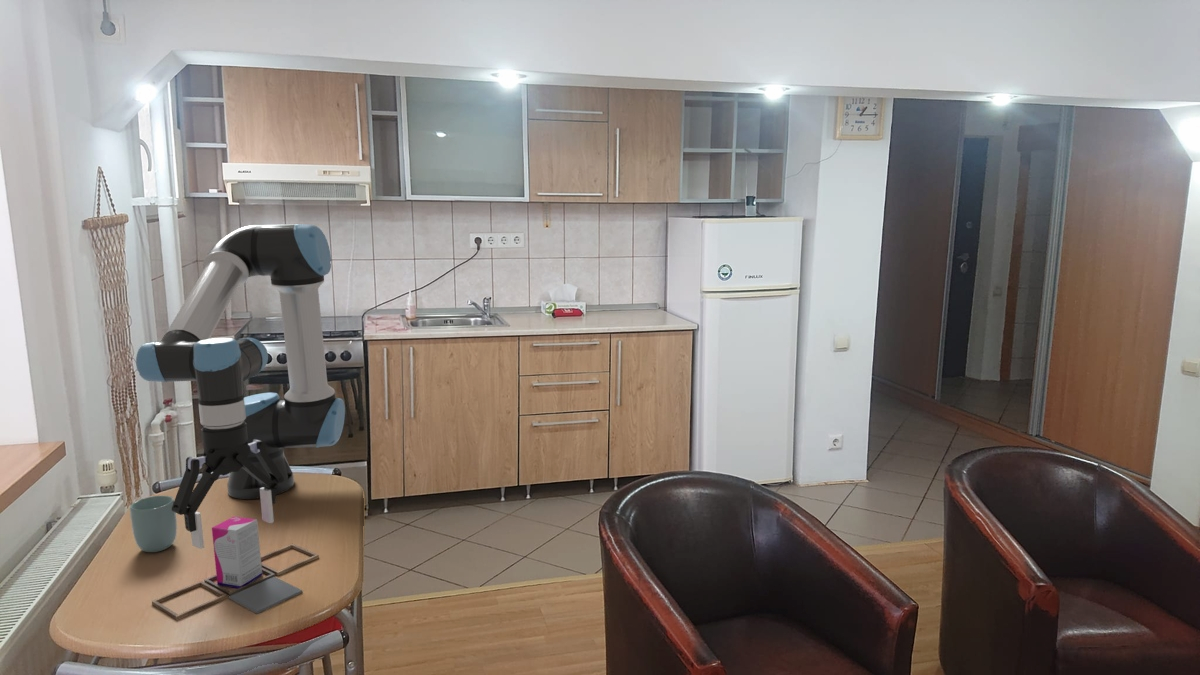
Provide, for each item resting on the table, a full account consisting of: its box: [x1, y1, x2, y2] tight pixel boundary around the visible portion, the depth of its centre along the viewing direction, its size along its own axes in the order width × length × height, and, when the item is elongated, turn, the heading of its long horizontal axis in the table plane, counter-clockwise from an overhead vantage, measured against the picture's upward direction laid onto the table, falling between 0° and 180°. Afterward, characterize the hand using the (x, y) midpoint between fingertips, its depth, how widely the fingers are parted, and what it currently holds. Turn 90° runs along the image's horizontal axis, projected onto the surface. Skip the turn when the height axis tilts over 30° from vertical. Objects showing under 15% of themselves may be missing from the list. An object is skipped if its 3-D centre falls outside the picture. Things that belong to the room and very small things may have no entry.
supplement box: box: [211, 516, 263, 589], centre depth 148 cm, size 6×6×12 cm
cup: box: [129, 495, 178, 553], centre depth 161 cm, size 8×8×10 cm
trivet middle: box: [203, 568, 276, 597], centre depth 149 cm, size 9×9×1 cm
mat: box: [228, 576, 303, 614], centre depth 143 cm, size 9×9×1 cm
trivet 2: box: [260, 543, 320, 576], centre depth 156 cm, size 9×9×1 cm
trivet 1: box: [151, 580, 229, 621], centre depth 141 cm, size 9×9×1 cm
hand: (234, 533), depth 147 cm, fingers open, 13 cm apart
